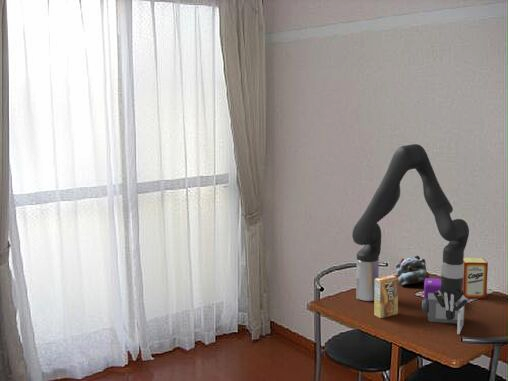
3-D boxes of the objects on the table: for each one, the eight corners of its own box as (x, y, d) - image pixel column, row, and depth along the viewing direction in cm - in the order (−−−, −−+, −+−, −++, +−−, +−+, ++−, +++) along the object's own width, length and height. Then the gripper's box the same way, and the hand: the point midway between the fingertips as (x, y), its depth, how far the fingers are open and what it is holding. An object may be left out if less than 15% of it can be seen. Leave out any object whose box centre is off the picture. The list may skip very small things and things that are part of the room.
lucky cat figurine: (394, 286, 249) (389, 256, 254) (402, 289, 259) (398, 260, 263) (426, 281, 242) (421, 250, 246) (434, 284, 251) (429, 254, 256)
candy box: (391, 310, 221) (391, 274, 219) (398, 314, 217) (398, 277, 215) (373, 315, 217) (373, 278, 215) (380, 318, 214) (380, 281, 211)
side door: (462, 334, 196) (463, 313, 195) (456, 333, 197) (457, 312, 196) (466, 323, 206) (467, 303, 204) (460, 322, 207) (461, 302, 205)
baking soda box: (481, 292, 238) (483, 257, 235) (486, 298, 232) (487, 261, 229) (459, 292, 239) (460, 257, 236) (463, 297, 233) (464, 261, 230)
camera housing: (422, 321, 210) (423, 296, 208) (421, 314, 217) (422, 290, 215) (461, 323, 207) (462, 299, 205) (459, 316, 213) (460, 292, 212)
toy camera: (444, 295, 236) (445, 273, 234) (452, 307, 222) (453, 284, 221) (418, 295, 237) (419, 273, 235) (425, 307, 224) (426, 284, 222)
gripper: (430, 272, 198) (428, 317, 202) (465, 281, 189) (463, 328, 192) (439, 267, 204) (437, 311, 207) (474, 275, 195) (472, 321, 198)
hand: (450, 319), depth 200 cm, fingers closed
